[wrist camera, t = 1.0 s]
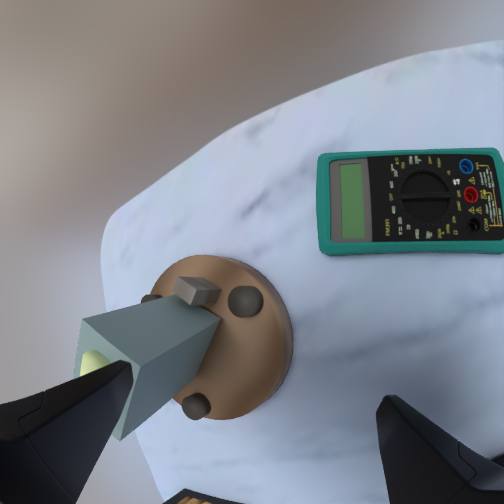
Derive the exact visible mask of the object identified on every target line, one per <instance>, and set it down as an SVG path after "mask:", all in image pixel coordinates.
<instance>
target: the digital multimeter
mask: <svg viewBox="0 0 504 504" xmlns="http://www.w3.org/2000/svg"><path fill="white" fill-rule="evenodd" d="M497 177H498V178H497ZM498 182H499V183H498ZM399 185H400V186H399ZM499 187H500V189H499ZM500 194H501V195H500ZM452 200H453V201H452ZM501 200H502V201H501ZM401 207H402V208H401ZM502 207H503V209H502ZM316 212H317V228H318V240H319V248H320V251H321V252H322V253H324V254H326V255H329V256H343V255H361V254H378V253H410V252H456V253H486V254H503V253H504V217H503V215H504V162H503V160H502V158H501V155H500V153H499V151H498V150H497V149H495V148H460V149H428V150H393V151H363V152H339V153H324V154H321V155H320V156H319V157H318V163H317V183H316ZM404 212H405V213H404ZM446 216H447V217H446ZM443 219H444V220H443ZM422 224H423V225H422ZM433 224H434V225H433ZM491 240H500V241H491ZM403 241H408V242H403Z"/></svg>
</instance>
